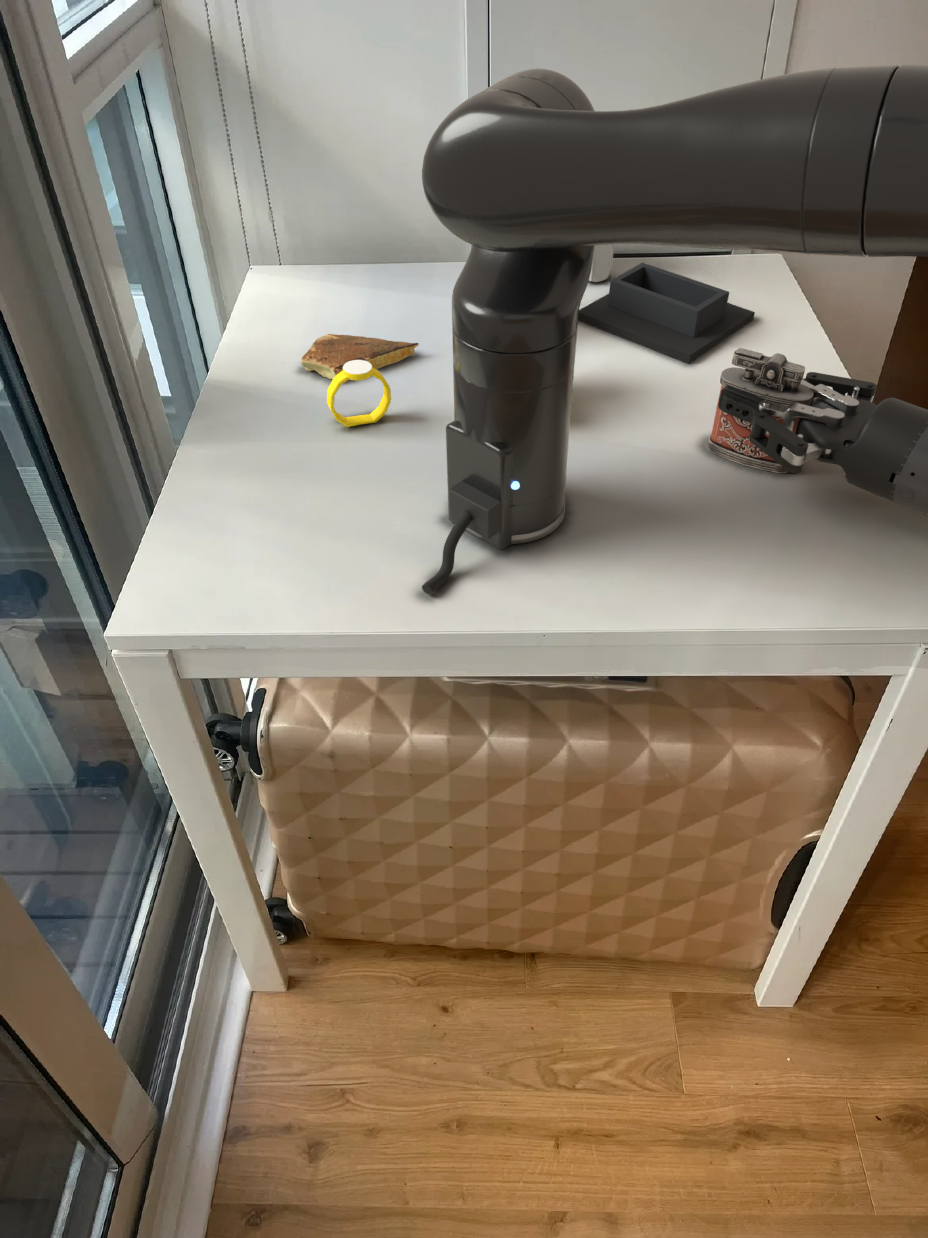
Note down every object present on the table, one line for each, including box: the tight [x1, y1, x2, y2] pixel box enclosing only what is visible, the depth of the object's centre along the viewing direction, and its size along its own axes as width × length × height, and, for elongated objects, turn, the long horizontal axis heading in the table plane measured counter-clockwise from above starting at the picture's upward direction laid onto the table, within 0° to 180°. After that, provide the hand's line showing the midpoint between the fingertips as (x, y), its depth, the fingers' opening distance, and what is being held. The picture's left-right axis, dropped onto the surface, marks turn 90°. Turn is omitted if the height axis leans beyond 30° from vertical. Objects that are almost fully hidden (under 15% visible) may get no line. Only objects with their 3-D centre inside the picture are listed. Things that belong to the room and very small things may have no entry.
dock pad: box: [578, 262, 756, 365], centre depth 105 cm, size 13×15×4 cm
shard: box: [300, 333, 419, 380], centre depth 99 cm, size 11×8×2 cm
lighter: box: [706, 347, 814, 474], centre depth 83 cm, size 8×3×10 cm, turn 58°
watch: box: [326, 360, 392, 428], centre depth 90 cm, size 6×3×6 cm, turn 111°
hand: (735, 387), depth 84 cm, fingers closed on lighter, 3 cm apart
